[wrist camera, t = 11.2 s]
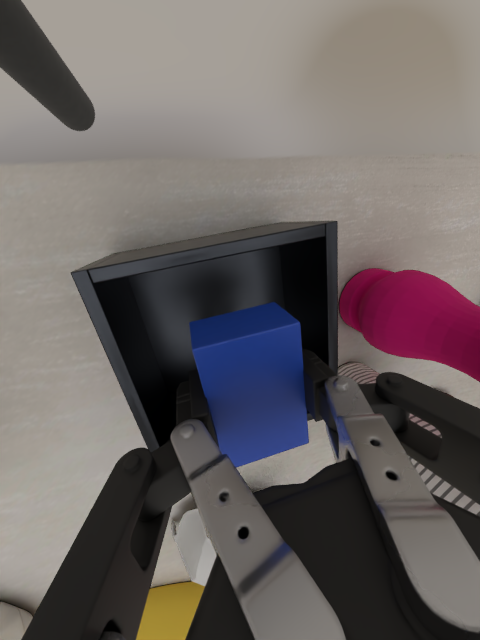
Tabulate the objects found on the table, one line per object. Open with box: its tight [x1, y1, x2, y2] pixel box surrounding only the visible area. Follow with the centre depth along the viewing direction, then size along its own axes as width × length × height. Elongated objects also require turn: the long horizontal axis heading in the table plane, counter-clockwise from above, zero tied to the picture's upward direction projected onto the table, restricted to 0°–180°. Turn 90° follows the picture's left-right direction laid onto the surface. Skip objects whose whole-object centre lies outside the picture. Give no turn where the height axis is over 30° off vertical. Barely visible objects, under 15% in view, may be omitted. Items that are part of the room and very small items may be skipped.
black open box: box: [71, 221, 338, 452], centre depth 18 cm, size 13×13×8 cm
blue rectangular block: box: [189, 302, 309, 467], centre depth 12 cm, size 7×4×3 cm, turn 9°
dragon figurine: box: [171, 509, 216, 586], centre depth 29 cm, size 15×15×9 cm
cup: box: [338, 362, 480, 516], centre depth 21 cm, size 8×8×16 cm
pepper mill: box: [339, 268, 480, 382], centre depth 16 cm, size 7×7×20 cm
